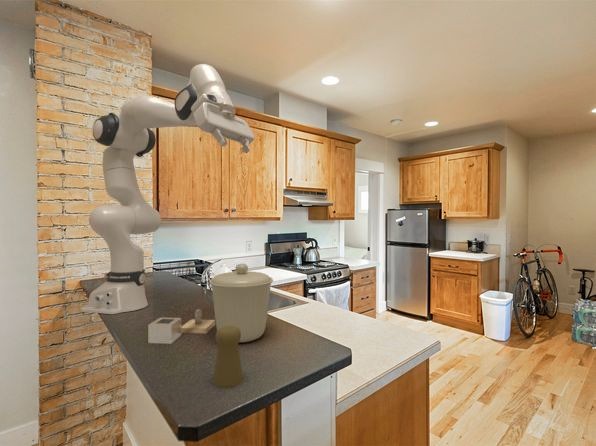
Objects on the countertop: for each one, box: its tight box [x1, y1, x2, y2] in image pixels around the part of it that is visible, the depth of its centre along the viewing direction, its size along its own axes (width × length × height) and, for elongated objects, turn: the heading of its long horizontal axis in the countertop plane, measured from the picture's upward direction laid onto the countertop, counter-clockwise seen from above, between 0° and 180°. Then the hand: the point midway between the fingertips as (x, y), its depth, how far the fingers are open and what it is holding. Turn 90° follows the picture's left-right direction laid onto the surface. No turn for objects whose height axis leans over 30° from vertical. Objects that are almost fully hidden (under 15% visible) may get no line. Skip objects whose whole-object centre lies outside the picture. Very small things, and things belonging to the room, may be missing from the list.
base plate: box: [181, 308, 216, 334], centre depth 96 cm, size 8×8×6 cm
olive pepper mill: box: [212, 326, 244, 389], centre depth 65 cm, size 6×6×11 cm
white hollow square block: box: [147, 317, 183, 345], centre depth 87 cm, size 6×6×5 cm
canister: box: [208, 263, 274, 344], centre depth 90 cm, size 18×18×21 cm
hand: (235, 148), depth 89 cm, fingers open, 8 cm apart
